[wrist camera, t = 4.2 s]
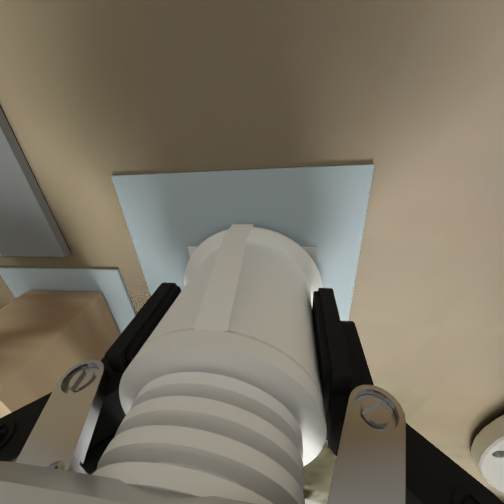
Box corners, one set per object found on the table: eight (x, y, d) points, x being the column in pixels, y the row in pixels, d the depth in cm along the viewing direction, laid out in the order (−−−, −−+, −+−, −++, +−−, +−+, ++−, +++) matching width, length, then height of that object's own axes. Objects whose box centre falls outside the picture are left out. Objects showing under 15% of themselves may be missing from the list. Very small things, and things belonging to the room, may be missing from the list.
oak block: (101, 292, 14) (-7, 393, 9) (128, 350, 17) (54, 456, 11) (28, 289, 15) (-111, 382, 10) (63, 346, 17) (-33, 444, 12)
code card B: (125, 262, 14) (116, 271, 13) (159, 355, 18) (153, 366, 17) (8, 261, 15) (-6, 268, 14) (64, 349, 19) (55, 358, 18)
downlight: (317, 349, 14) (363, 744, 5) (199, 340, 15) (61, 650, 6) (328, 213, 10) (556, 701, 1) (174, 214, 11) (-241, 497, 3)
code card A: (368, 161, 10) (375, 164, 9) (339, 347, 15) (342, 359, 14) (121, 172, 11) (109, 176, 11) (172, 337, 17) (167, 348, 16)
